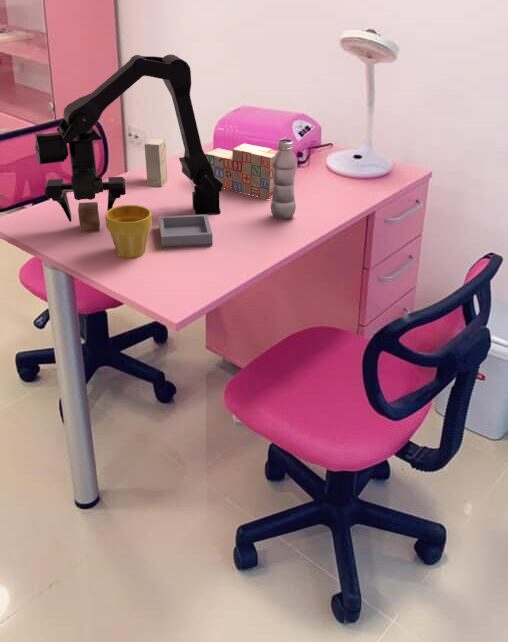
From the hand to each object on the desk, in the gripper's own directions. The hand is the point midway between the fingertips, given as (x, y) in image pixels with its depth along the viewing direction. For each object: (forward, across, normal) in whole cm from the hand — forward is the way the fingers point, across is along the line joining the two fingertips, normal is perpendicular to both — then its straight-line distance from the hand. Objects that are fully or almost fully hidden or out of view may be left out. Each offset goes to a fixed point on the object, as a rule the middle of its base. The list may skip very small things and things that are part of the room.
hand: (89, 220), depth 179 cm
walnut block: (+2, 0, 0) cm, 2 cm away
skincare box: (+2, +18, +30) cm, 35 cm away
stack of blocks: (+2, +42, +22) cm, 47 cm away
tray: (+2, +23, -8) cm, 24 cm away
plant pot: (+2, +10, -15) cm, 18 cm away
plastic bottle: (+2, +49, +1) cm, 49 cm away
